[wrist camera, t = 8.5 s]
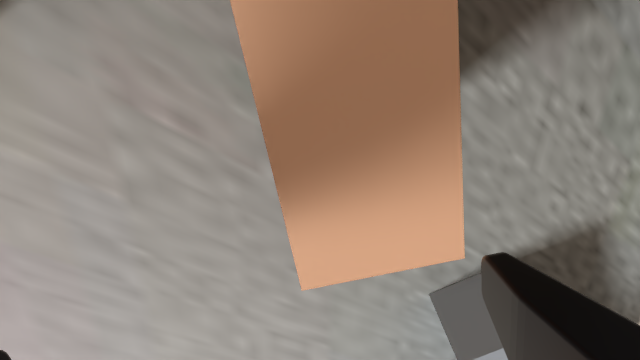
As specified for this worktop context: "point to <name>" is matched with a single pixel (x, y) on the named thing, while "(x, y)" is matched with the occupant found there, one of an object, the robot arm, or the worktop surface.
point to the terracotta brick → (360, 130)
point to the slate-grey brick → (468, 321)
